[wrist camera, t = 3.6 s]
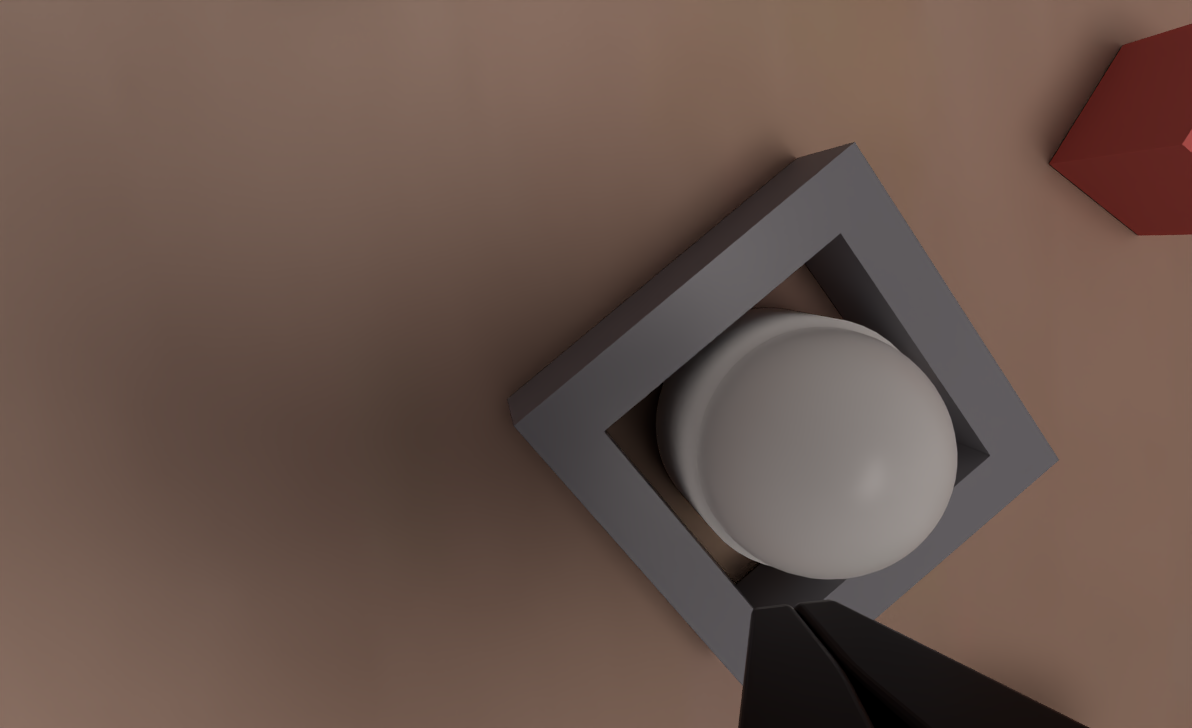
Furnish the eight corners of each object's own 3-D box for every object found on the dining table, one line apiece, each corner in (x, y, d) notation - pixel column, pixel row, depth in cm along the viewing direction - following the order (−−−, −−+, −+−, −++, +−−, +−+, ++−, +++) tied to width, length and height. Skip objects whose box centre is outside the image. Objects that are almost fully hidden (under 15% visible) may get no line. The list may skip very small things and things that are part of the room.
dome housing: (507, 398, 19) (513, 426, 16) (796, 158, 19) (854, 141, 16) (726, 649, 21) (766, 712, 19) (980, 431, 22) (1059, 459, 19)
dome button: (610, 408, 19) (674, 480, 13) (785, 260, 20) (929, 266, 13) (741, 566, 21) (854, 698, 15) (903, 428, 21) (1081, 501, 15)
